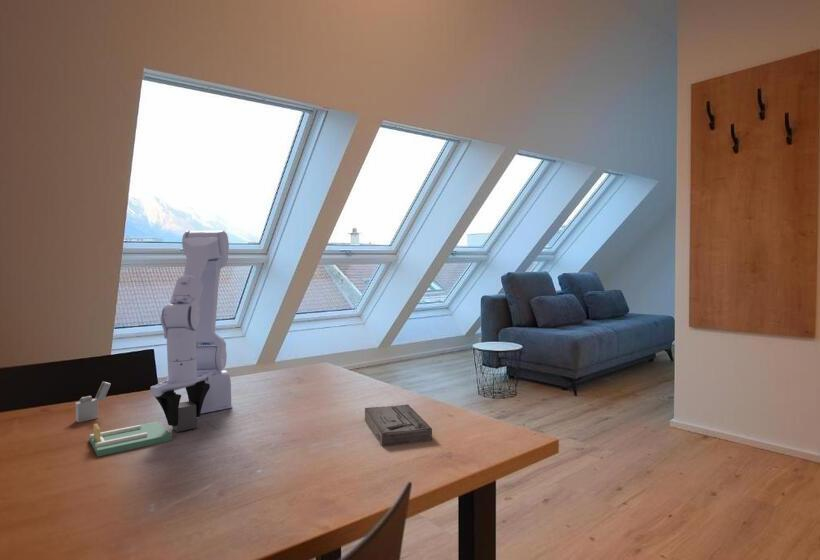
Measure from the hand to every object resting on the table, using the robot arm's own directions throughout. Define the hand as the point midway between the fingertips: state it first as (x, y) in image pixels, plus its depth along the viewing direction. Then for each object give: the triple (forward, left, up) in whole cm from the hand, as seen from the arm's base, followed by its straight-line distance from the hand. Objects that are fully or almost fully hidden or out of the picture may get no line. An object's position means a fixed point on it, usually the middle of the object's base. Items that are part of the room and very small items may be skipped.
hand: (184, 420), depth 112 cm
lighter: (+14, -22, -2) cm, 26 cm away
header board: (+11, 0, -2) cm, 11 cm away
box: (-35, +30, -2) cm, 46 cm away
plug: (0, 0, -1) cm, 1 cm away
